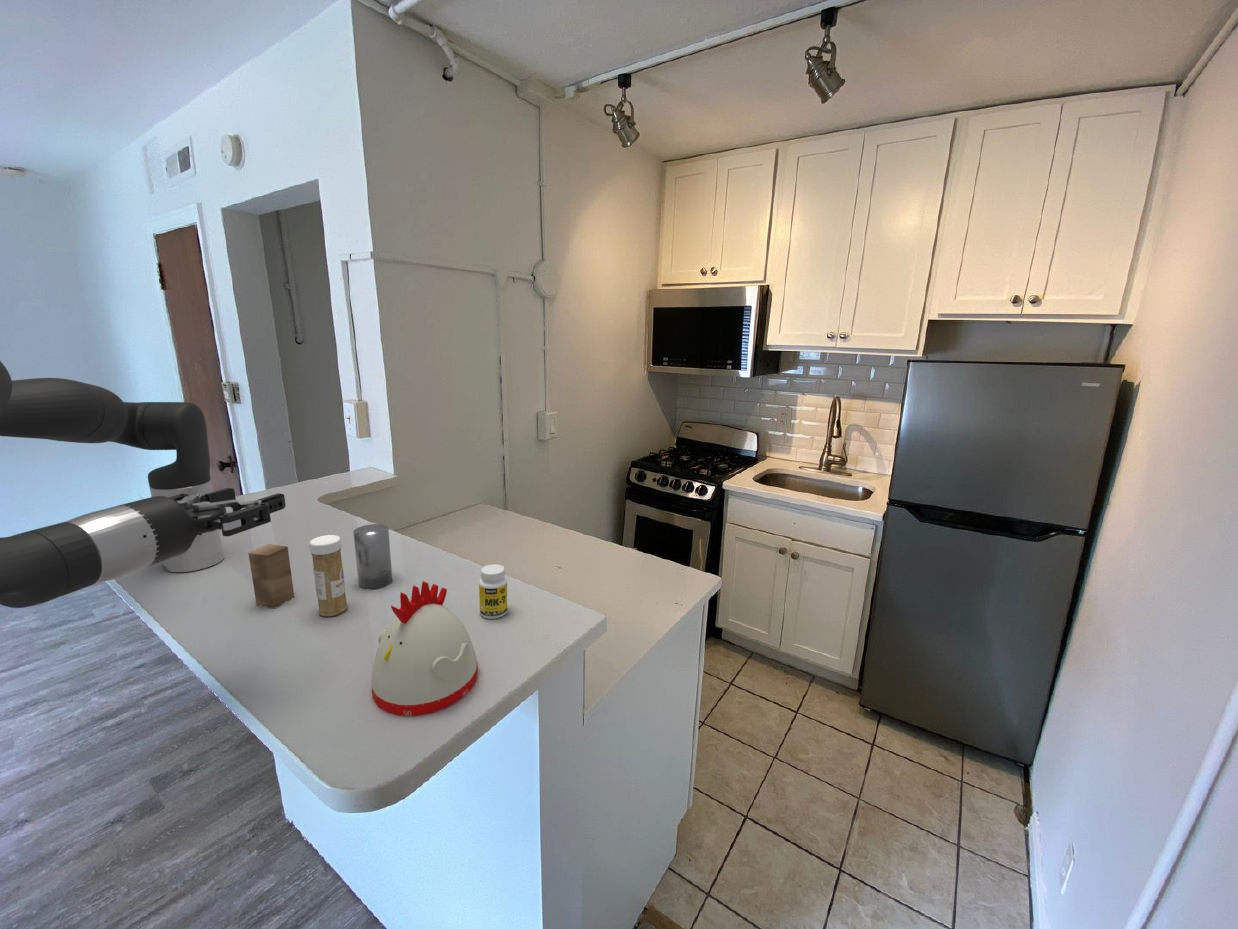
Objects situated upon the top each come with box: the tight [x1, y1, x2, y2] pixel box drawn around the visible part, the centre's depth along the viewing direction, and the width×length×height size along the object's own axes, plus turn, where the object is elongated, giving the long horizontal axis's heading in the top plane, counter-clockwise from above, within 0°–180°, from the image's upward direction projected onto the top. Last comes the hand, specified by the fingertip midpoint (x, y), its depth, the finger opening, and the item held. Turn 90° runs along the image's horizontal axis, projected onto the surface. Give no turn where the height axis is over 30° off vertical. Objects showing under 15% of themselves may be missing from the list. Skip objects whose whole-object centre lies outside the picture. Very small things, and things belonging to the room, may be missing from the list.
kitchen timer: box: [371, 580, 479, 717], centre depth 69 cm, size 14×14×15 cm
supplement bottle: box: [478, 564, 508, 620], centre depth 87 cm, size 5×5×8 cm
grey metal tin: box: [352, 523, 393, 590], centre depth 96 cm, size 6×6×11 cm
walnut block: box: [248, 543, 295, 608], centre depth 88 cm, size 4×4×10 cm
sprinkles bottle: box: [309, 534, 349, 617], centre depth 85 cm, size 5×5×14 cm
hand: (257, 497), depth 71 cm, fingers open, 8 cm apart
